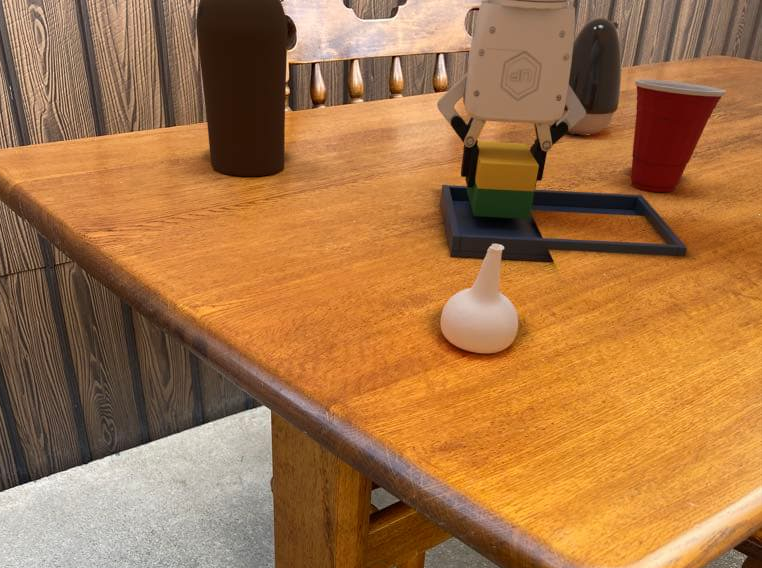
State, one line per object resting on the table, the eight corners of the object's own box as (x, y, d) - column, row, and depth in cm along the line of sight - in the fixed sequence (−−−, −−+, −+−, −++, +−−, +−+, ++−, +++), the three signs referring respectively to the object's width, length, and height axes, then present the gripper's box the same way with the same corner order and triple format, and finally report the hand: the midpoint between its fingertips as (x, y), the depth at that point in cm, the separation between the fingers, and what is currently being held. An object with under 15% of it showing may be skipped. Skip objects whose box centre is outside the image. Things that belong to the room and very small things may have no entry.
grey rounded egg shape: (622, 132, 125) (649, 19, 116) (592, 143, 119) (618, 24, 109) (566, 120, 130) (587, 11, 121) (534, 130, 124) (554, 15, 114)
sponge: (466, 191, 91) (473, 140, 87) (517, 194, 91) (526, 143, 87) (473, 216, 84) (481, 162, 80) (529, 219, 84) (539, 165, 80)
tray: (637, 213, 93) (642, 194, 92) (681, 268, 80) (687, 247, 78) (440, 203, 93) (442, 184, 92) (450, 256, 79) (453, 235, 78)
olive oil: (256, 183, 96) (246, -76, 80) (189, 168, 100) (167, -83, 84) (305, 165, 103) (305, -76, 87) (240, 151, 107) (229, -82, 91)
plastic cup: (701, 183, 105) (733, 81, 97) (688, 203, 97) (721, 94, 89) (620, 169, 108) (645, 69, 100) (602, 188, 101) (626, 82, 93)
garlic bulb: (472, 318, 68) (486, 224, 63) (530, 343, 65) (549, 246, 60) (423, 338, 65) (433, 240, 59) (481, 366, 61) (497, 264, 56)
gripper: (442, -15, 71) (423, 191, 83) (629, -5, 72) (584, 200, 83) (437, -23, 77) (420, 172, 89) (610, -13, 77) (571, 180, 89)
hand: (499, 184), depth 86 cm, fingers closed on sponge, 6 cm apart
